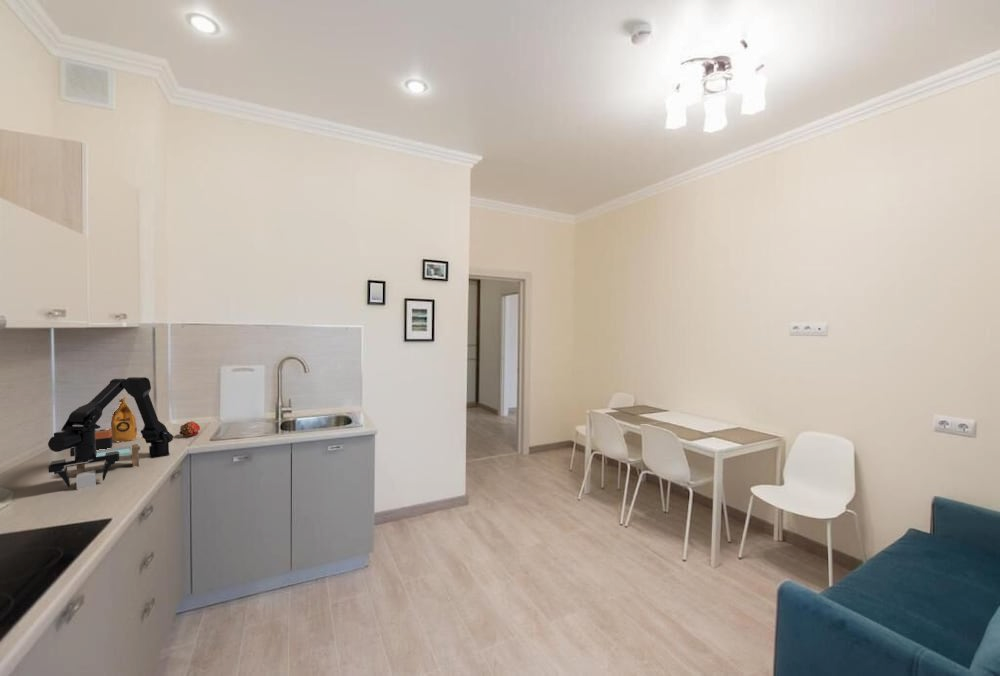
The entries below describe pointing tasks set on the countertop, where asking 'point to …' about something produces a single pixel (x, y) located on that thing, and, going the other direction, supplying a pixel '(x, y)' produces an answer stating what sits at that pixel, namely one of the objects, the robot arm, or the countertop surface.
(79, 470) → the trapdoor frame
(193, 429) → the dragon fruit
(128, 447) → the trapdoor
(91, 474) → the grey cube
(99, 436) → the battery
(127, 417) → the coffee package
